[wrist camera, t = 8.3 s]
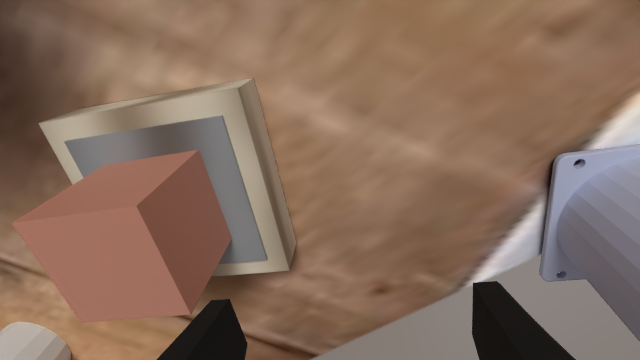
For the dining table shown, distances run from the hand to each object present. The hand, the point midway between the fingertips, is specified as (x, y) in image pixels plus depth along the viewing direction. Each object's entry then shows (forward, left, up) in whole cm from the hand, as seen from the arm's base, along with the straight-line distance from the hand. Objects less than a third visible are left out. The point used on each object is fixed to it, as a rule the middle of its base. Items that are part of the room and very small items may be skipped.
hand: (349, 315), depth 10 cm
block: (+9, -1, -7) cm, 11 cm away
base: (+9, -1, -9) cm, 13 cm away
